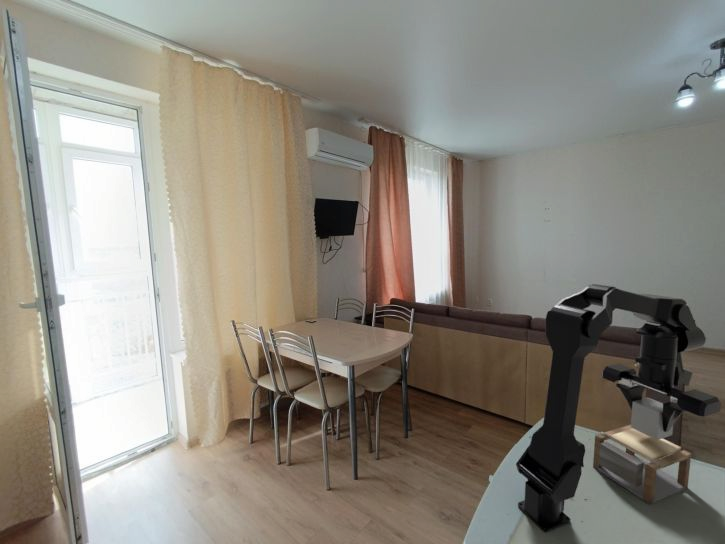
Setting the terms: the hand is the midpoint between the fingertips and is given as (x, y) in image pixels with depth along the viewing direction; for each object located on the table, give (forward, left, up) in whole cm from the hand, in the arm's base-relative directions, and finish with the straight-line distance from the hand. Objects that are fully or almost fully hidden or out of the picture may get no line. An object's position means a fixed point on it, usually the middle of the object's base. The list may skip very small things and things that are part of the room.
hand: (651, 424), depth 72 cm
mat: (-3, 0, -11) cm, 12 cm away
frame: (-3, 0, -11) cm, 12 cm away
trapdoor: (-4, 0, -9) cm, 10 cm away
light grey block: (0, 0, -2) cm, 2 cm away
